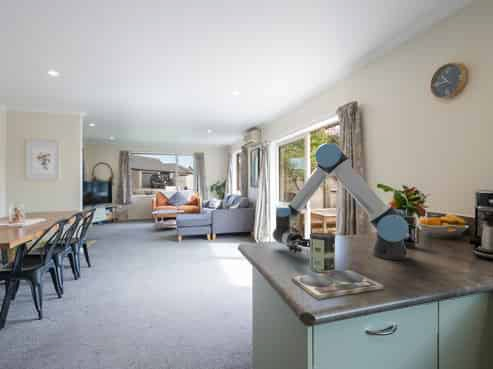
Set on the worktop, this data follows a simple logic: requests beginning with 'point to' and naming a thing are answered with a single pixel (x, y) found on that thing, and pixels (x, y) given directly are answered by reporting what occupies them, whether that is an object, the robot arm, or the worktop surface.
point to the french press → (410, 232)
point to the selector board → (335, 283)
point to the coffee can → (322, 252)
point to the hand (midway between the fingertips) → (320, 250)
